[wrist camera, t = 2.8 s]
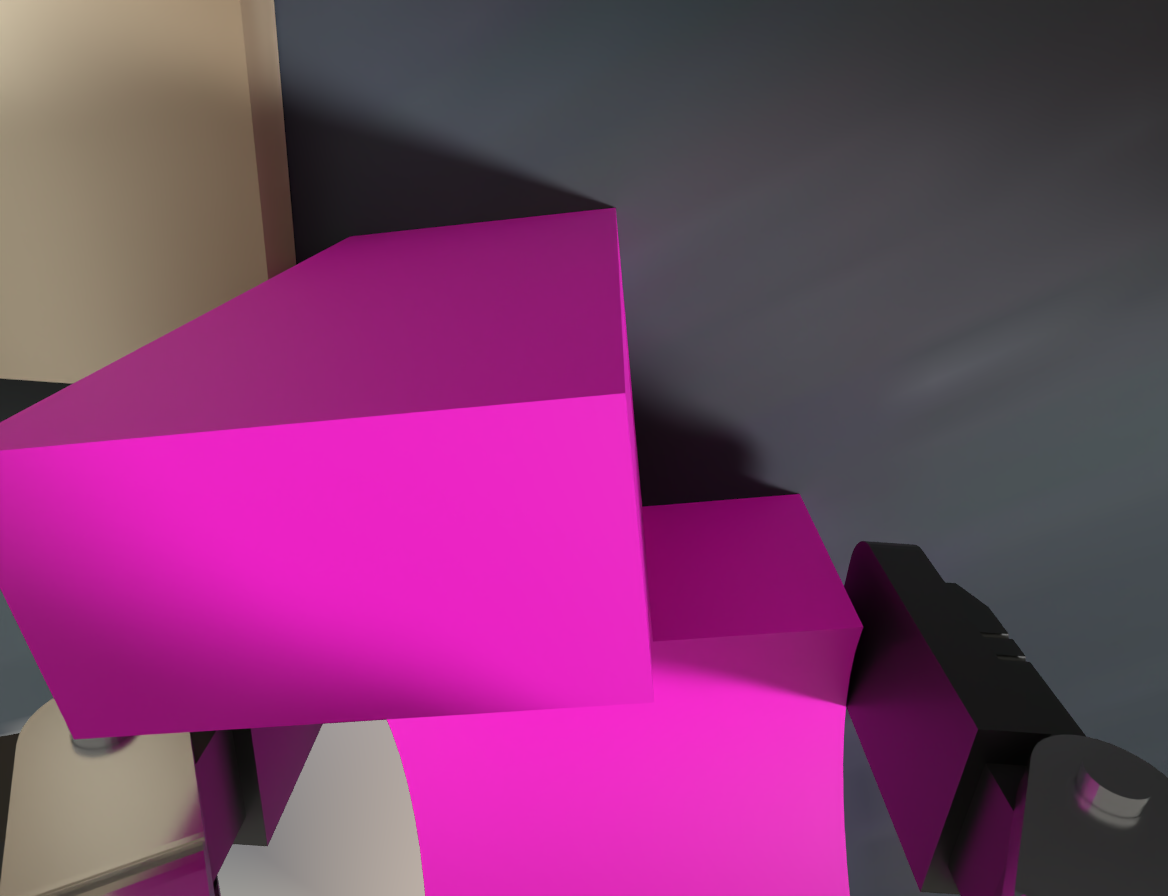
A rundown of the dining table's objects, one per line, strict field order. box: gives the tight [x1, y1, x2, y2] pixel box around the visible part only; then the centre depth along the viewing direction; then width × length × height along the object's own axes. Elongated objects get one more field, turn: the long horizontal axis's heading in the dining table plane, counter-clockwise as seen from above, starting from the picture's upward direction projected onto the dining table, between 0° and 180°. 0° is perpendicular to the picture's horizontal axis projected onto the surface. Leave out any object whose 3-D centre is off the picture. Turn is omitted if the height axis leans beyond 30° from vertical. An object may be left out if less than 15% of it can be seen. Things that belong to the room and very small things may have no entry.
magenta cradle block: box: [0, 208, 863, 896], centre depth 10 cm, size 15×6×8 cm, turn 6°
